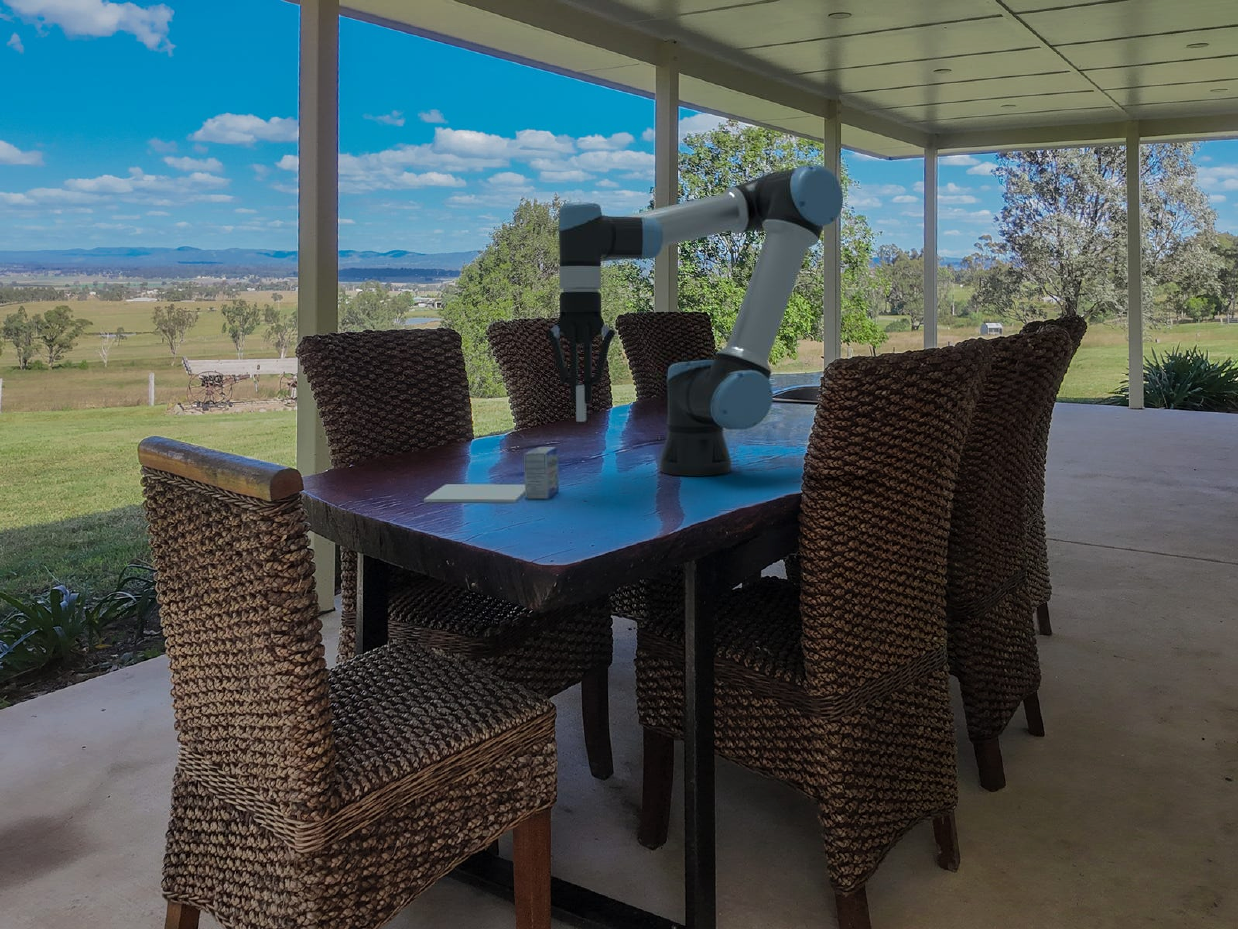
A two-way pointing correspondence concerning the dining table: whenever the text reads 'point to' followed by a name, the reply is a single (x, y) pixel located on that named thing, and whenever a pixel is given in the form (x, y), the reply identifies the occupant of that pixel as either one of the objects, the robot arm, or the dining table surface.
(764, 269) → the robot arm
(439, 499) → the mat
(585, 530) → the dining table surface
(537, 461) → the medicine box
